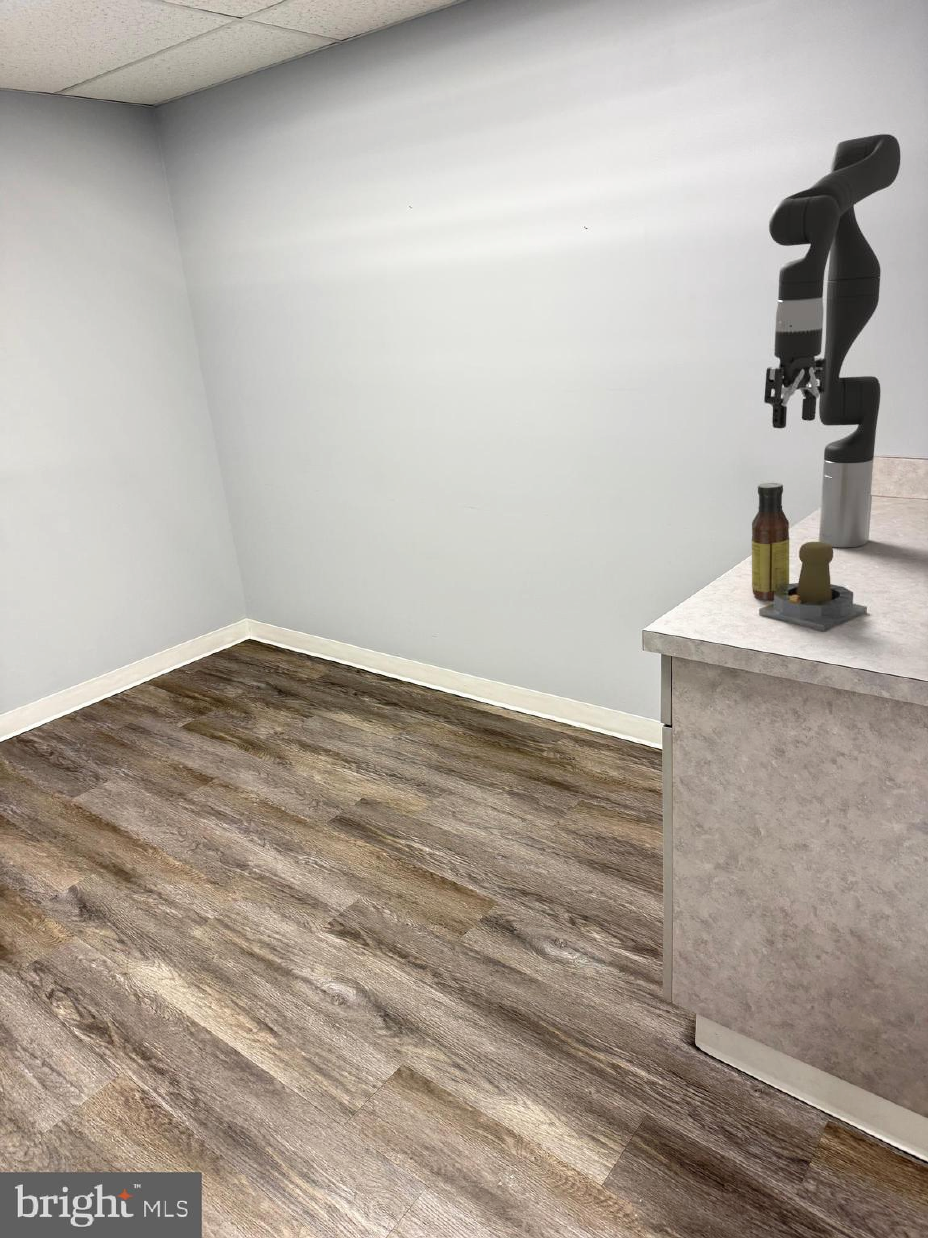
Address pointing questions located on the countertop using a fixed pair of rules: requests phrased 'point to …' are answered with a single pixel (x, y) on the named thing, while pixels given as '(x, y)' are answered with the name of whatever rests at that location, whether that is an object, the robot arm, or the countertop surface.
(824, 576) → the cork
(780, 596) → the hub
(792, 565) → the countertop surface
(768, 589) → the sauce bottle
